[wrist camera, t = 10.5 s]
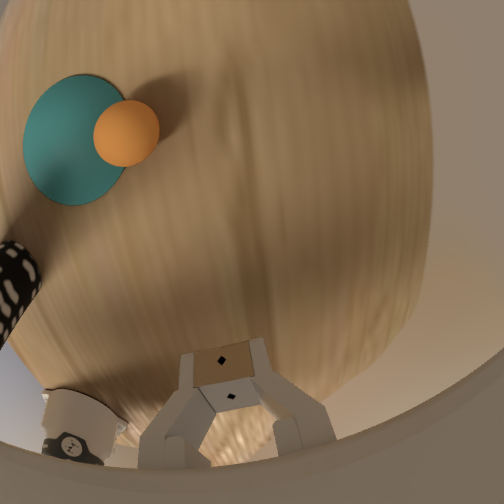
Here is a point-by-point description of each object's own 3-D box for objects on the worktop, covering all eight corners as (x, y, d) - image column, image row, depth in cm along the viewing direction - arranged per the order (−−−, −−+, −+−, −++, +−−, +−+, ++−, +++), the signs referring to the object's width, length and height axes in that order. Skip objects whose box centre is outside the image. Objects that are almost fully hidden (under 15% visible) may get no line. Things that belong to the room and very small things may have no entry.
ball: (94, 127, 20) (138, 159, 23) (71, 154, 16) (125, 191, 20) (130, 81, 18) (176, 118, 21) (111, 96, 14) (169, 142, 17)
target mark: (107, 222, 25) (106, 223, 24) (14, 182, 21) (13, 182, 20) (155, 96, 20) (154, 96, 20) (48, 65, 16) (47, 65, 16)
